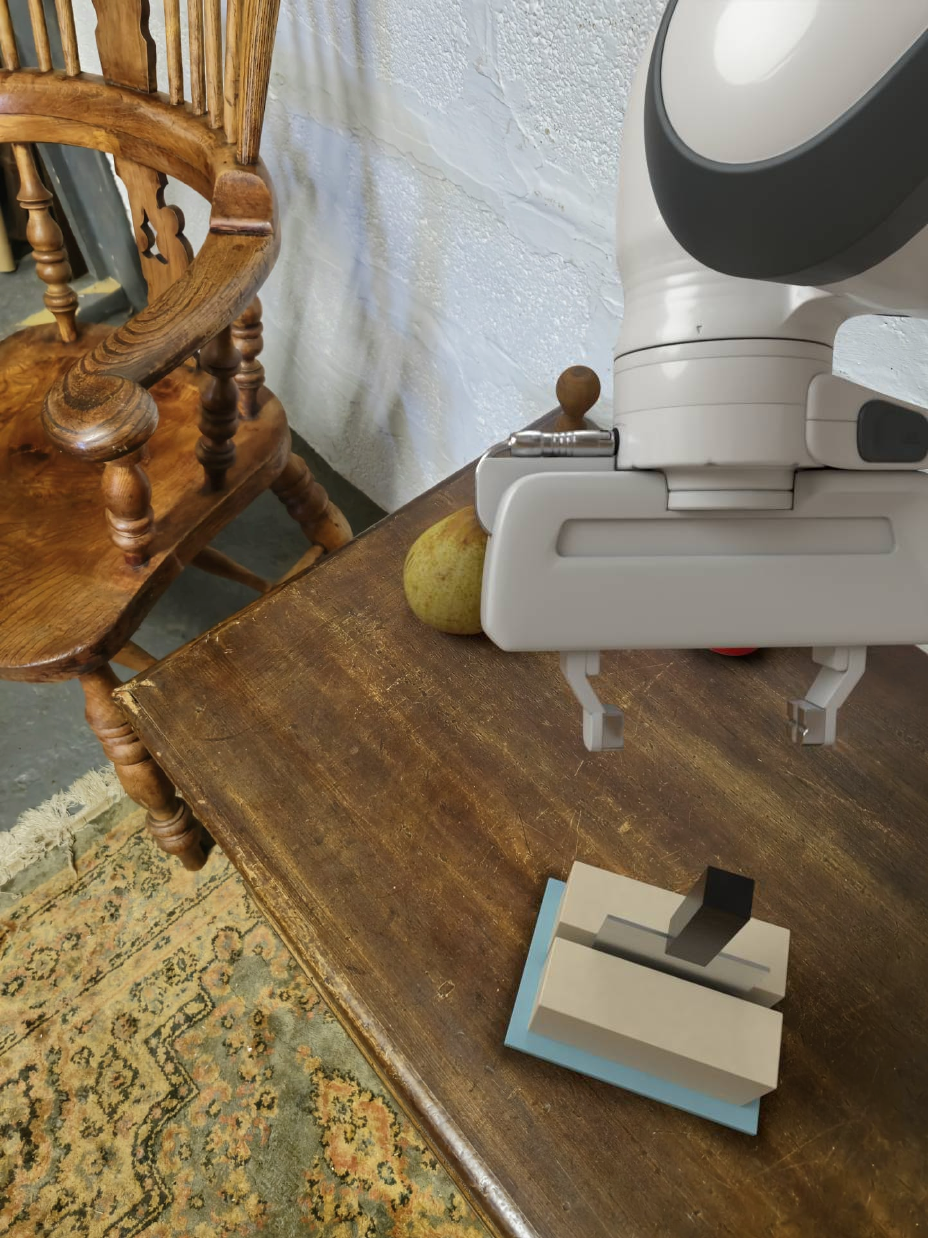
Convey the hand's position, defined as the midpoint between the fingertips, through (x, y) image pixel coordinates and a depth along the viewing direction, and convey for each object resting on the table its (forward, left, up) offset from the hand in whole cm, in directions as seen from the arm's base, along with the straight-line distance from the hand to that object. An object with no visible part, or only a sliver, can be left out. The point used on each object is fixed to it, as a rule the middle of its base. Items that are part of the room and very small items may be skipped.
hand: (707, 745), depth 38 cm
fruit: (+17, -18, -19) cm, 32 cm away
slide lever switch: (-2, +6, -19) cm, 20 cm away
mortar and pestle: (+12, -26, -19) cm, 35 cm away
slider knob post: (-2, +6, -15) cm, 16 cm away
